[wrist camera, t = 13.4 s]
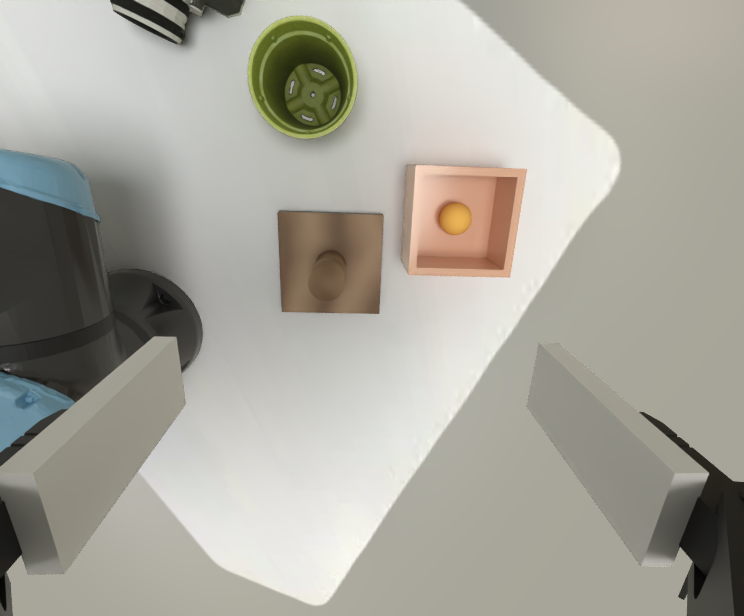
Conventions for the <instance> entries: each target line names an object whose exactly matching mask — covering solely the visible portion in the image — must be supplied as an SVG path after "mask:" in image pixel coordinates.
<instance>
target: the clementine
mask: <svg viewBox="0 0 744 616" xmlns="http://www.w3.org/2000/svg"><path fill="white" fill-rule="evenodd" d="M439 222H440V226H441V228H442V229H443V230H444V231H445V232H446V233H448V234H450V235H460V234H462V233H464V232H465V231H467V230H468V228H469V227H470V225H471V222H472V214H471V211H470V209H469V208H468V207H467V206H466V205H464V204H462V203H458V202H454V203H450V204H448V205H447V206H445V207H444V208H443V210H442V211H441V213H440V217H439Z"/></svg>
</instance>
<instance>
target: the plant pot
mask: <svg viewBox="0 0 744 616" xmlns="http://www.w3.org/2000/svg"><path fill="white" fill-rule="evenodd" d="M313 69H320V70H322V71H324V72H325V75H322V74H320V73H318V72H315V71H313ZM293 80H294V81H295V83H294V86H293V90H292V94H290V93H289V90H290V84H291V82H292V81H293ZM248 84H249V90H250V93H251V96H252V99H253V101H254V104H255V106H256V108H257V110H258V111H259V113H260V114H261V115H262V117H263V118H264V119H265V120H266V121H267V122H268V123H269V124H270V125H271V126H272V127H273V128H275V129H276V130H278V131H279V132H281V133H283V134H285V135H288V136H291V137H295V138H301V139H312V138H318V137H322V136H324V135H327V134H329V133H331V132H332V131H334V130H335V129H337V128H338V127H339V126H340V125H341V124H342V123H343V122H344V121H345V119H346V118H347V117H348V115H349V113H350V112H351V110H352V107H353V105H354V102H355V98H356V94H357V84H358V80H357V69H356V65H355V61H354V58H353V55H352V53H351V51H350V49H349V47H348V45H347V43H346V42H345V40H344V39H343V38H342V36H341V35H340V34H339V33H338V32H337V31H336V30H335V29H334V28H332V27H331V26H330V25H328V24H326V23H325V22H323V21H321V20H319V19H316V18H313V17H309V16H290V17H285V18H283V19H280V20H278V21H276V22H274V23H273V24H271V25H270V26H269V27H267V28H266V29H265V30H264V31H263V32H262V34H261V35H260V36H259V37H258V39H257V41H256V42H255V44H254V46H253V48H252V51H251V54H250V58H249V63H248ZM311 92H314V93H315V96H314V97H311ZM334 96H336V97H337V102H336V106H335V108H334V109H331V107H332V105H333V101H334ZM302 114H303V115H305V116H307V117H309V118H313V121H308V120H305V119H303V118H302V117H301V115H302Z"/></svg>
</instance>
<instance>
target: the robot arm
mask: <svg viewBox="0 0 744 616" xmlns="http://www.w3.org/2000/svg"><path fill="white" fill-rule="evenodd" d="M99 222H101V221H100V217H99V215H98V214H96V211H95V206H94V202H93V198H92V193H91V189H90V185H89V182H88V179H87V177H86V176H85V174H84V173H83V172H82V171H81V170H80V169H79V168H77V167H76V166H75V165H73V164H71V163H69V162H66V161H63V160H60V159H55V158H51V157H46V156H41V155H35V154H29V153H24V152H18V151H12V150H5V149H0V616H13V613H12V598H11V583H10V581H9V578H8V575H7V573H6V572H7V570H8V569H9V568H10V567H11V566H12V564H13V563H14V562H15V561H16V560H17V558H19V556H20V555H21V556H22V559H23V562H24V564H25V567H26V570H27V573H28V574H31V575H34V574H65V573H66V571H67V570H68V568H69V567H70V566H71V564H72V563H73V561H74V560H75V559H76V557H77V556H78V554H79V553H80V551H81V550H82V549H83V547H84V546H85V544H86V543H87V542H88V540H89V539H90V537H91V536H92V535H93V533H94V532H95V530H96V529H97V528H98V526H99V525H100V524H101V522H102V521H103V519H104V518H105V516H106V515H107V514H108V512H109V511H110V510H111V508H112V507H113V505H114V504H115V502H116V501H117V500H118V498H119V497H120V495H121V494H122V493H123V491H124V490H125V488H126V487H127V486H128V484H129V483H130V481H131V480H132V478H133V477H134V476H135V474H136V473H137V472H138V470H139V469H140V467H141V466H142V465H143V463H144V462H145V460H146V459H147V458H148V456H149V455H150V453H151V452H152V451H153V449H154V448H155V446H156V445H157V444H158V442H159V441H160V439H161V438H162V437H163V435H164V434H165V432H166V431H167V430H168V428H169V427H170V425H171V424H172V423H173V421H174V420H175V418H176V417H177V416H178V414H179V413H180V411H181V410H182V409H183V407H184V406H185V404H186V401H185V394H184V387H183V380H182V373H183V372H184V371H185V370H186V369H187V368H188V367H189V365H190V364H191V363H192V362H193V361H194V359H195V358H196V356H197V354H198V352H199V350H200V347H201V343H202V336H203V332H202V324H201V320H200V316H199V314H198V311H197V309H196V307H195V306H194V304H193V303H192V301H191V300H190V298H189V297H188V296H187V295H186V294H185V293H184V292H183V291H182V290H181V289H180V288H179V287H178V286H177V285H175V284H174V283H173V282H171V281H169V280H168V279H166V278H164V277H162V276H160V275H158V274H155V273H152V272H149V271H144V270H138V269H121V270H116V271H112V272H109V273H107V269H106V263H105V257H104V252H103V246H102V241H101V235H100V229H99V224H98V223H99ZM527 408H528V409H529V411H530V412H531V414H532V415H533V416H534V418H535V419H536V421H537V422H538V423H539V425H540V426H541V428H542V429H543V430H544V432H545V433H546V435H547V436H548V437H549V439H550V440H551V442H552V443H553V444H554V446H555V447H556V449H557V450H558V451H559V452H560V454H561V455H562V457H563V458H564V460H565V461H566V463H567V464H568V465H569V467H570V468H571V469H572V471H573V472H574V474H575V475H576V477H577V478H578V479H579V481H580V482H581V484H582V485H583V486H584V488H585V489H586V491H587V492H588V493H589V495H590V496H591V498H592V499H593V500H594V502H595V503H596V505H597V506H598V507H599V509H600V510H601V512H602V513H603V514H604V516H605V517H606V518H607V520H608V521H609V523H610V524H611V526H612V527H613V528H614V530H615V531H616V533H617V534H618V535H619V537H620V538H621V540H622V541H623V542H624V544H625V545H626V547H627V548H628V549H629V551H630V552H631V554H632V555H633V556H634V558H635V559H636V561H637V562H638V563H639V565H640V566H641V567H665V566H666V567H670V566H672V565H673V563H674V560H675V557H676V555H677V553H678V550H679V548H680V547H681V548H682V549H683V551H684V552H685V553H686V554H687V555H688V556H689V557H690V559H691V560H692V561H693V563H692V565H691V567H690V570H689V572H688V575H687V577H686V579H685V582H684V584H683V586H682V589H681V591H680V594H679V596H678V597H679V598H681V599H683V600H684V599H685V597H686V595H687V616H744V482H735V481H732V480H731V479H730V478H728V477H727V476H726V475H725V474H724V473H722V472H721V471H720V470H719V469H718V468H716V467H715V466H714V465H713V464H711V463H710V462H709V461H708V460H707V459H706V458H704V457H703V456H702V455H701V454H700V453H698V452H697V451H696V450H695V449H693V448H690V447H689V444H688V443H686V442H685V441H684V440H682V439H681V438H680V437H677V434H676V433H674V432H673V431H672V430H671V429H670V428H668V427H667V426H666V425H665V424H663V423H662V422H660V421H658V420H657V419H655V418H653V417H651V416H649V415H648V414H646V413H644V412H638V411H637V410H636V409H635V408H633V407H632V406H631V405H630V404H629V403H628V402H627V401H625V400H624V399H623V398H622V397H621V396H619V395H618V394H617V393H616V392H615V391H614V390H612V389H611V388H610V387H609V386H608V385H607V384H606V383H605V382H603V381H602V380H601V379H600V378H599V377H598V376H596V375H595V374H594V373H593V372H592V371H590V369H588V368H587V367H586V366H585V365H584V364H583V363H581V362H580V361H579V360H578V359H577V358H576V357H574V356H573V355H572V354H571V353H570V352H569V351H568V350H566V349H565V348H564V347H563V346H562V345H561V344H560V343H539V345H538V350H537V355H536V360H535V366H534V371H533V376H532V381H531V386H530V391H529V397H528V402H527Z"/></svg>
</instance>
